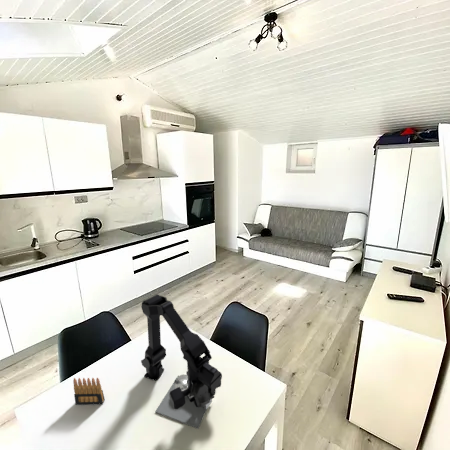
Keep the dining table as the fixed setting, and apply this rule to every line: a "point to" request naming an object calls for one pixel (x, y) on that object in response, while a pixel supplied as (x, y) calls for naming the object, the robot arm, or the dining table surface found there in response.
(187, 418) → the base
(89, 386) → the ammunition clip
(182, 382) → the elbow
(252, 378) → the dining table surface
